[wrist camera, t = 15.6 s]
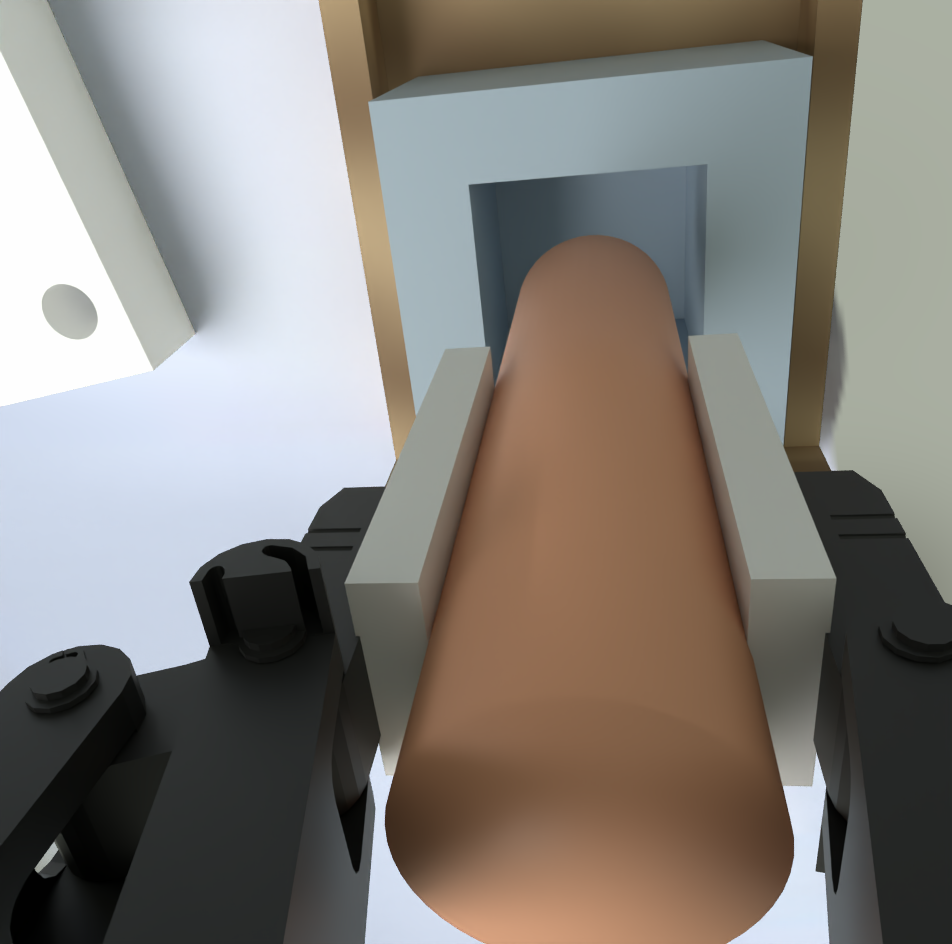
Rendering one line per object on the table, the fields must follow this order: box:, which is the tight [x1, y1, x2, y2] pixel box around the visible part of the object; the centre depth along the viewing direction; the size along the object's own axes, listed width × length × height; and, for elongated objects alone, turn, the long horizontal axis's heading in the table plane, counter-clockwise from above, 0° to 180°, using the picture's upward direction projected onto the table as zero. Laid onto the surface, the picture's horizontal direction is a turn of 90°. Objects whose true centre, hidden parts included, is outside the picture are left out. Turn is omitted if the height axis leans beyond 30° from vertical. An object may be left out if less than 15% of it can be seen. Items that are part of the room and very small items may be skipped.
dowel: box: [385, 235, 794, 944], centre depth 13 cm, size 3×3×14 cm
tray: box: [319, 0, 863, 487], centre depth 19 cm, size 26×13×11 cm, turn 6°
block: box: [368, 40, 813, 445], centre depth 23 cm, size 11×9×6 cm
